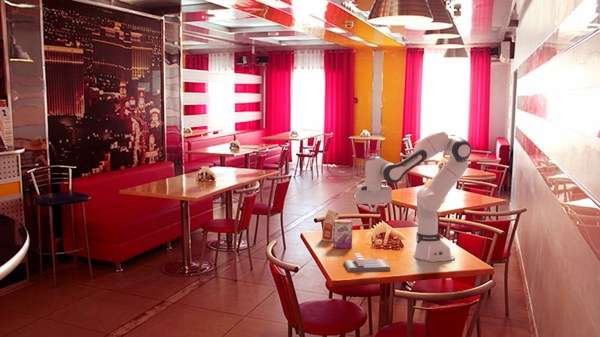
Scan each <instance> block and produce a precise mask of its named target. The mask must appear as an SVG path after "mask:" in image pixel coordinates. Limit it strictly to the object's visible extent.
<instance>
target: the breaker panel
mask: <svg viewBox="0 0 600 337" xmlns="http://www.w3.org/2000/svg"><path fill="white" fill-rule="evenodd" d="M343 264H344V266H345V269H346V270H347V271H348V273H349V272H388V271H390V272H391V266H390V265H389V264H388V262H387V261H386V260H385V259H384V258H376V259H375V258H371V259H369V258H368V259H367V258H366V259H365V258H364V266H358V264H357V263H356V261H355V260H354V259H343Z"/></svg>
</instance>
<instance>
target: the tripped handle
mask: <svg viewBox="0 0 600 337" xmlns="http://www.w3.org/2000/svg"><path fill="white" fill-rule="evenodd" d="M364 259H365V258H364V257H363V258H358V266H364Z"/></svg>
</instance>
